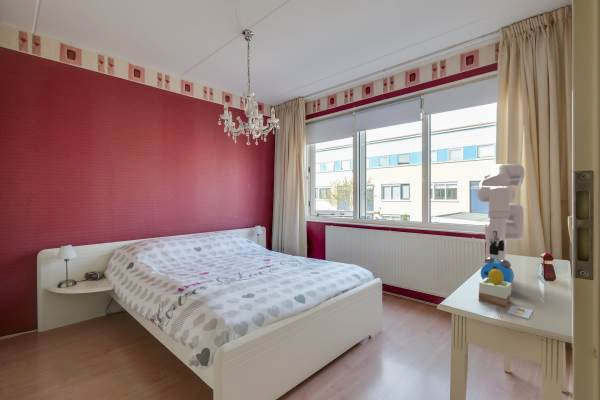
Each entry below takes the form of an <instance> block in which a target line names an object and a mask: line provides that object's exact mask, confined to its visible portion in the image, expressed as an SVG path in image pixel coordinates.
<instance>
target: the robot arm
mask: <svg viewBox="0 0 600 400" xmlns="http://www.w3.org/2000/svg"><path fill="white" fill-rule="evenodd" d="M525 174H526V173H525V168H524V166H523V165H522V164H519V163H506V164H505V163H504V164H503V163H502V164H501V163H500V164H495V165H493V166H492V167H491V168H490V171H489V172H487V173H486V174H485V175H484V178H483V179H482V180H481V181H480V182H479V184H478V186H477V198H478V201H480V202H485V203H486V202H487V203H488V214H487V215H488V216H487V217H488V219H489V222H487V223H485V225H484V235H485V256H484V257H485V258H484V260H485V259H486V258H489V257H492V258H494V259H495V261H497V260H498V261H501V260H506V259H507V246H506V244H505V240H506V241H507V240H508V241H521V240H522V239H523V238H524V219H525V213H524V208H523V206H522V204H520V203H511V202H512V201H513V200H514V199H515V197H516V194H515V193H516V192H515V190H514V188H517V187H521V186H522V184H523V181H524V177H525ZM507 221H511V222H507ZM496 259H497V260H496ZM488 263H489V262H488ZM485 264H487V263H485V262H484V265H485Z"/></svg>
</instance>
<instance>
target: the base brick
mask: <svg viewBox="0 0 600 400" xmlns="http://www.w3.org/2000/svg"><path fill="white" fill-rule="evenodd" d="M511 300H512V293H511V294H510V295H509V296H508V297H507V298H506V299H504V298H500V297H496V296H492V295H488V294H484V293H480V292H479V291H478V302H482V303H485V304H489V305H493V306H496V307H500V308H504V309H506V308H507V306H509V304H510V303H511V302H512V301H511Z"/></svg>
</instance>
